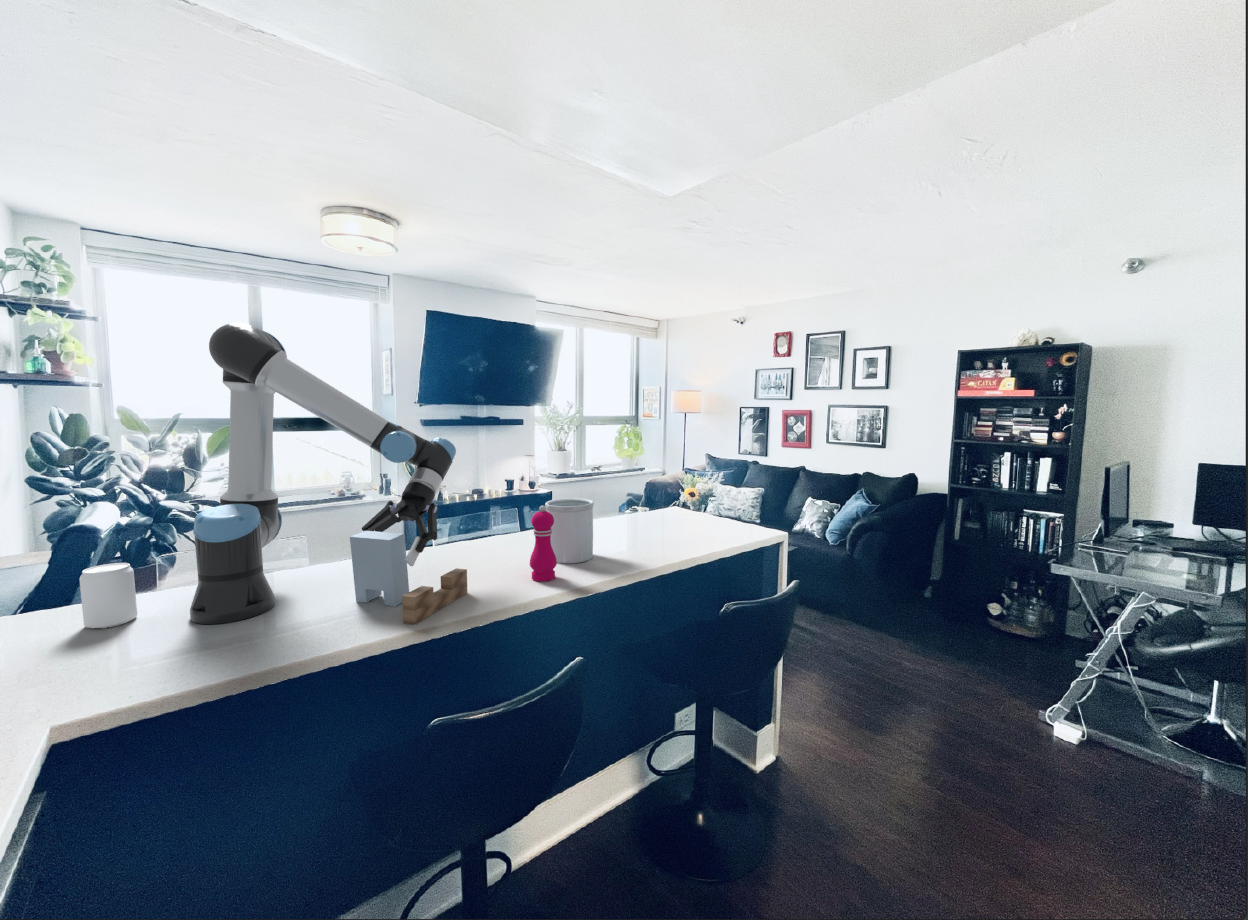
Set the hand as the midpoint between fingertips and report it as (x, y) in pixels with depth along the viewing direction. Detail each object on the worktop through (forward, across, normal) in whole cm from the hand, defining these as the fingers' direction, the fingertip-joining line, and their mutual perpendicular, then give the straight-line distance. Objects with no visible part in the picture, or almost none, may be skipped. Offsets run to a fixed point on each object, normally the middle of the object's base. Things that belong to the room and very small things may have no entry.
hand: (384, 561), depth 123 cm
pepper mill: (-11, -30, -25) cm, 40 cm away
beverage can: (+26, +47, +12) cm, 55 cm away
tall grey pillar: (+7, +1, -6) cm, 9 cm away
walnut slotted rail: (+7, -14, -7) cm, 17 cm away
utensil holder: (-26, -29, -40) cm, 55 cm away
